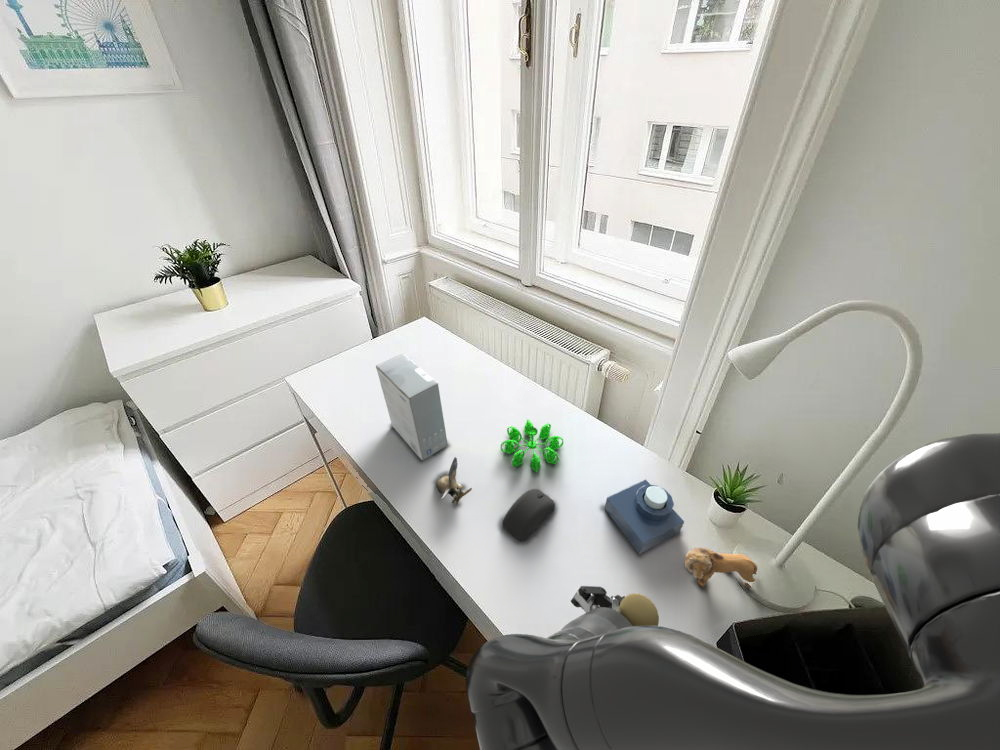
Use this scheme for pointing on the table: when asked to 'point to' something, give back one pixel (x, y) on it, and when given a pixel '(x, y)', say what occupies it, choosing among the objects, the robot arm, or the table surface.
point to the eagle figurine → (450, 484)
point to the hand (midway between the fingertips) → (638, 618)
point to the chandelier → (532, 445)
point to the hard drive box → (413, 405)
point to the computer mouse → (528, 514)
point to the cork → (639, 610)
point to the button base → (643, 517)
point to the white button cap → (655, 497)
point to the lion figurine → (719, 565)
